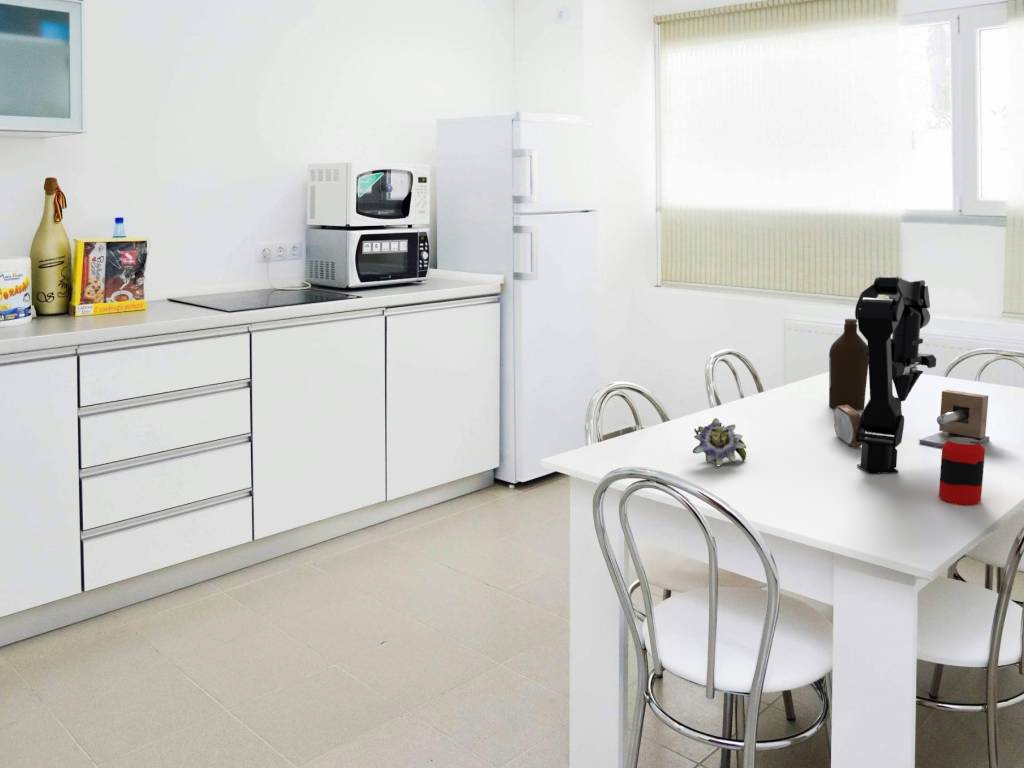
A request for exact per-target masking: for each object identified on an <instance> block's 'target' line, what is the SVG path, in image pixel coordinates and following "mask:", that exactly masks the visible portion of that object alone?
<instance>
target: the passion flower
mask: <svg viewBox="0 0 1024 768" xmlns="http://www.w3.org/2000/svg"><path fill="white" fill-rule="evenodd" d="M735 429H736V424H735V423H734V424H731V425H730V424H729V425H727V426H726V425H722V422H720V420H719V418H717V417H714V419H713V420H712V422H711V423H710V424H708V425H705V426H701V425H699V426H698V427H697V429H696V428H694V433H695V434H696V435H694V436H693V437H694V438H695V439H696V440H697V441H699V444H698V445H697V446H695V447H694V448H693V449H692V453H693V454H700V453H704V455H705V461H706V464H710V463H712V462H713V463H714V464H715V466H716V465H721V466H722V465H723V462H724V459H725V458H726V459H728V461H731V462H735V461H736V454H735V452H736V453H737V454H738V456H740V458H741V460H742V461H743V460H745V461H746V459H747V452H746V449H747V445H746V444H745V442H744V441H743V440H742V438H743V436H744V435H742V434H738V433H736V432H735V431H734V430H735Z"/></svg>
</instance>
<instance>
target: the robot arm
mask: <svg viewBox="0 0 1024 768" xmlns="http://www.w3.org/2000/svg"><path fill="white" fill-rule="evenodd" d="M879 295H883V296H885V297H888V298H879V297H878V296H879ZM930 307H931V303H930V294H929V286H928V284H926V281H925V280H924V279H905V278H903V279H902V277H901V276H900V277H899V276H898V275H879V276H876V277H875V279H874V281H873V284H871V285H870V286H868V287H867V288H866V289H864V290H863V291H862V292H861V293H860V295H859V298H858V300H857V302H856V305H855V310H854V316H855V317H854V318H855V319H857V329H858V331H859V332H860V333H861V335H862V336H863V337H864V339H865V340H866V342H867V346H866V350H865V357H867V358H868V363H869V364H868V379H869V399H868V402H867V403H866V404H865V406H864V408H863V409H862V410H863V411H862V413H861V414H860V416H861V417H860V418H859V422H858V426H857V431H856V442H862V445H861V452H860V463H857V464H856V466H857V467H858V468H860V469H861V470H863V471H865V472H866V473H868V474H871V475H874V474H876V475H877V474H896V473H899V469H897V463H898V449H897V447H898V446H899V445H900V444H902V442H903V441H902V440H903V435H904V428H905V416H904V415H903V413H902V412H903V411H902V402H905V401H906V399H907V398H908V396H909V395H910V393H911V391H912V389H913V387H914V386H915V384H916V383H917V381H918V380H919V378H920V376H921V374H924V371H923V370H918V367H917V366H919V365H920V366H927V368H928V369H931V368H936V366H937V358H936V356H935V355H934V354H929V353H923V352H919V350H920V349H919V348H920V347H919V346H920V344H921V345H922V344H923V342H924V339H923V338H920V333H921V332H920V331H921V329H923V328H925V327H926V326H927V325H928V324H929V322H930V320H931V314H930V311H929V310H928V309H930ZM893 384H894V388H895V392H896V396H894V394H893V390H894V389H893Z"/></svg>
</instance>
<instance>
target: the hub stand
mask: <svg viewBox="0 0 1024 768" xmlns="http://www.w3.org/2000/svg"><path fill="white" fill-rule="evenodd" d="M959 392H961V391H959ZM972 394H974V393H973V392H972ZM979 395H981V394H979ZM986 396H988V395H986ZM988 407H989V403H988V404H987V409H988ZM969 410H970V408H968V407H962V406H958V410H957V411H953V412H950V413H947V414H944V415H941V416H940V415H939V416H938V417H937V418H936V422H937V424H938V425H939V426H940V425H941V426H943V425H947V424H950V423H953V422H956V421H959V420H963V421H969ZM987 418H988V416H987V417H986V421H987V420H988V419H987ZM986 432H987V429H985V434H986ZM953 437H964V438H971V439H976V440H978V441H980V443H981V445H982V444H984V443H988V442H989V441H990V438H991V437H990V436H988V435H985V437H982V438H976V437H970V436H965V435H959V434H954V433H948V432H943V431H939V432H938V433H934V434H932V435H929V436H926V437H922V438H920V439H918V440H919V441H918V444H919V443H920V445H924V446H930V445H931V447H935V446H936V448H940V447H941V449H942V445H943V444H944V443H945V442H946V441H947V440H948V439H949V438H953Z"/></svg>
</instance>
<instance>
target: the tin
mask: <svg viewBox="0 0 1024 768" xmlns="http://www.w3.org/2000/svg"><path fill="white" fill-rule="evenodd" d="M860 417H861V413H860V412H859V411H858V410H854V409H853V408H851V407H850V406H848V405H843V406H837V407H836V408H835V409H833V425H834V426H833V427H834V431H835V435H836V436H837V438H838V437H839V438H838V439H840V440H841V441H842V442H843V441H844V442H843V443H844V444H846V445H847V444H848V445H849V447H862V442H856V431H857V426H858V422H859V418H860ZM848 445H847V446H848Z"/></svg>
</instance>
